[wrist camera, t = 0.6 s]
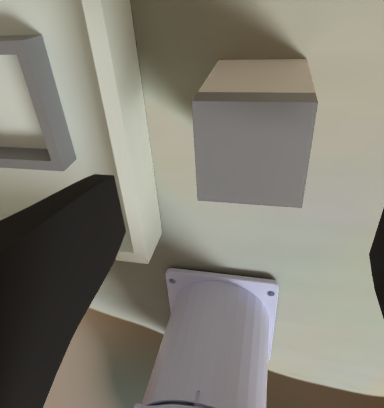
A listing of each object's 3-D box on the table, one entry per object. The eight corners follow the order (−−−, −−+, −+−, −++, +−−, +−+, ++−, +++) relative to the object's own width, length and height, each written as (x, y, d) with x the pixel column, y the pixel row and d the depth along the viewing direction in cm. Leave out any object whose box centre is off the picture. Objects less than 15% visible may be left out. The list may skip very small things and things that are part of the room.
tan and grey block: (296, 141, 18) (301, 207, 13) (219, 138, 18) (197, 200, 14) (306, 58, 15) (318, 102, 11) (218, 60, 16) (192, 101, 11)
